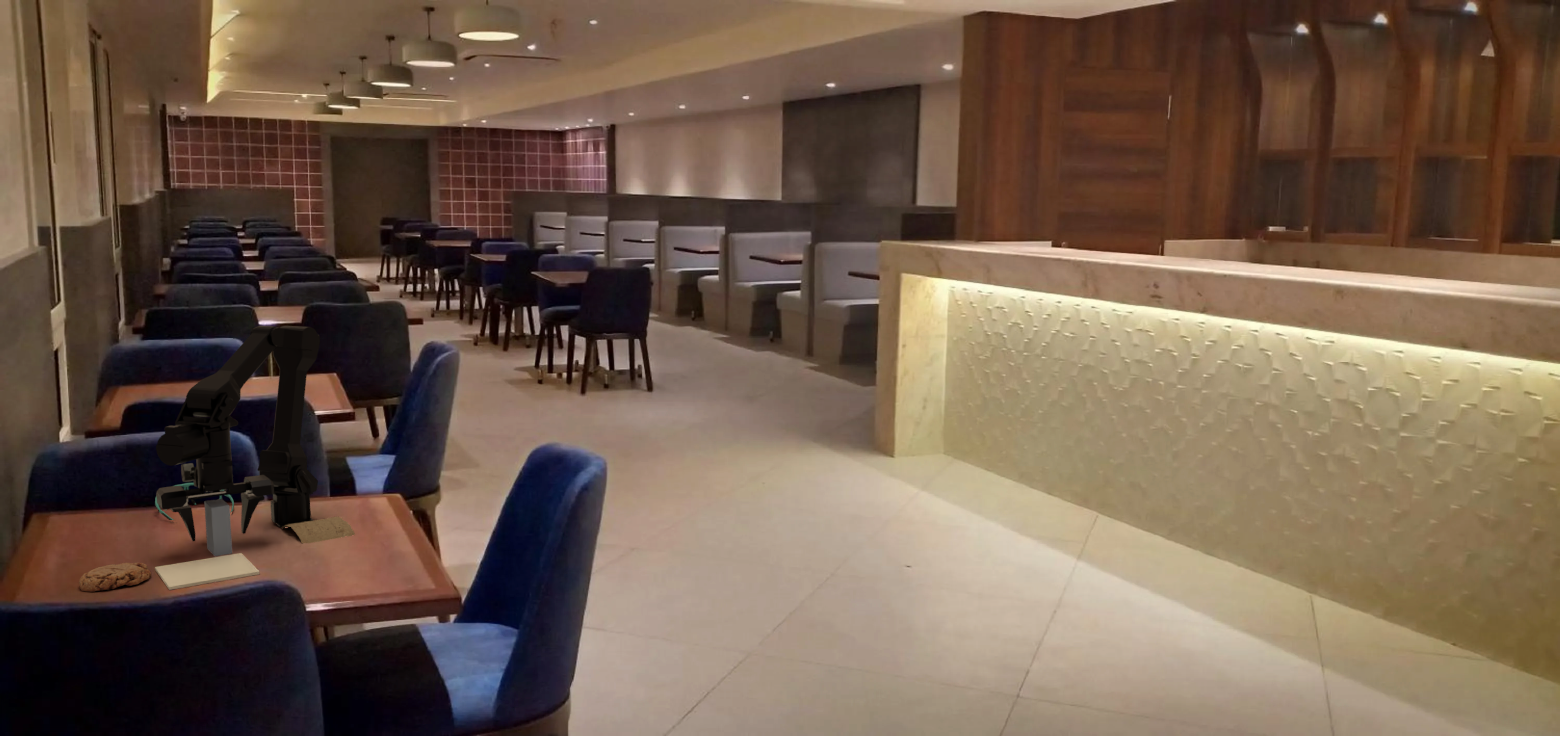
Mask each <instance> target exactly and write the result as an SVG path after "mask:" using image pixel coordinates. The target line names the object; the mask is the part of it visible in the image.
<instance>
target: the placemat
mask: <svg viewBox="0 0 1560 736" xmlns="http://www.w3.org/2000/svg"><path fill="white" fill-rule="evenodd" d="M154 570H155V572H156V574H158V576H159V578H160V579H161V580H162V582H163V583H164V585H165V586H166V588H167V589H168V590H169V591H171V590H177V589H182V588H183V589H184V588H188V587H193V586H194V587H195V586H199V585H205V584H211V583H217V582H222V581H229V580H233V579H234V580H235V579H239V578H240V579H241V578H246V577H251V576H257V575H260V574H261V573H260V570H259V569H257V568H256V566H255V565H254V564H253V563H252V562H251V561H250V560H249V559H248V558H247V557H246V556H245V555H244V554H243V553H242V552H239V553H232V554H226V555H220V556H213V557H208V558H203V559H197V560H196V559H195V560H191V561H186V562H185V561H184V562H177V563H172V564H164V565H160V566H159V565H158V566H155V567H154Z"/></svg>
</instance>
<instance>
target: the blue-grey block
mask: <svg viewBox="0 0 1560 736" xmlns="http://www.w3.org/2000/svg"><path fill="white" fill-rule="evenodd" d="M203 503H204V517H205V518H204V519H205V530H206V531H205V534H206V548H207V550H208V551H209V552H210V553H211V554H212V556H213V557H220V556H226V555H232V554H233V542H232V526H231V516H230V513H231V510H230V509H231V508H230V505H229V504H228V502H226V501H225V500H224V499H223V498H222V499H219V498H218V499H211V500H205V501H204V502H203Z"/></svg>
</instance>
